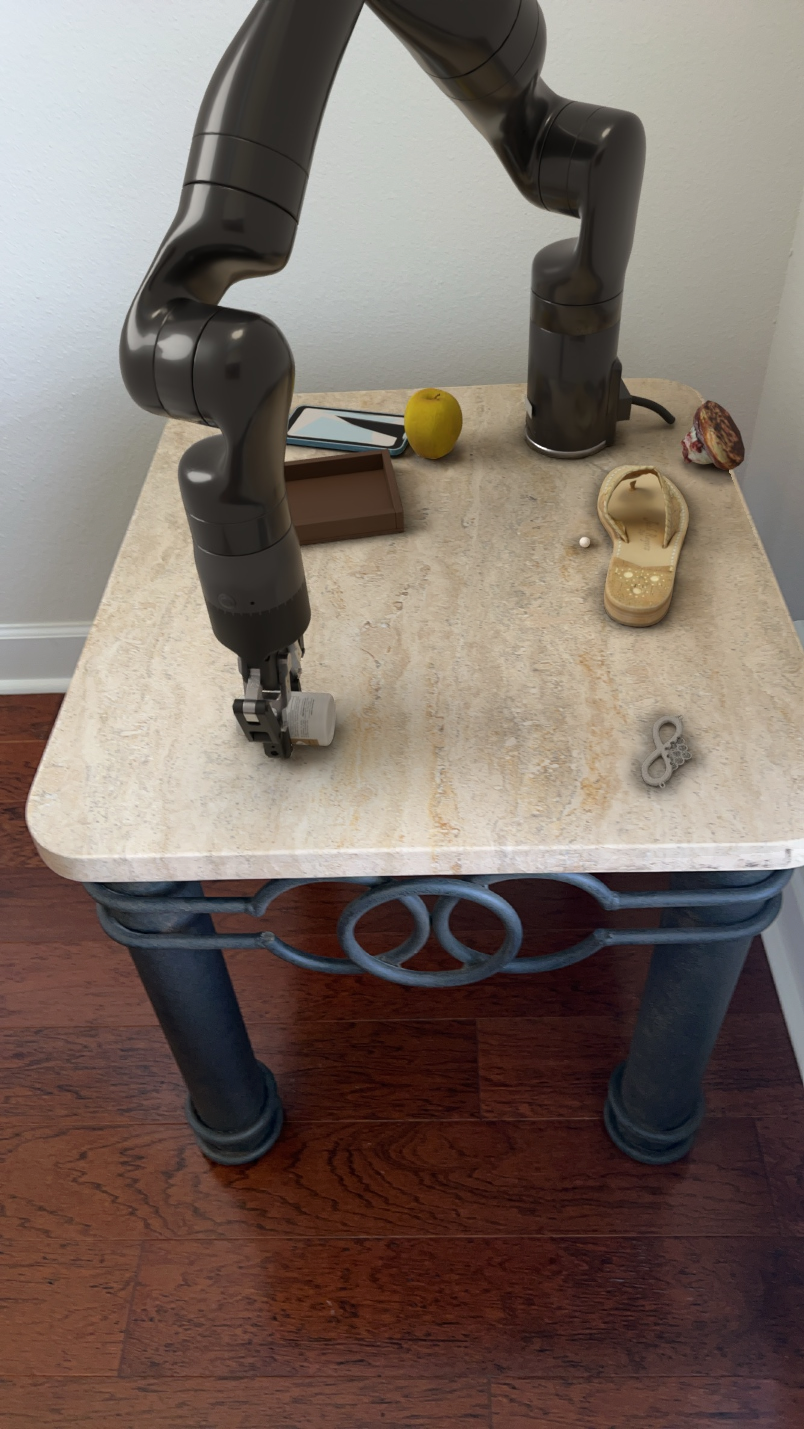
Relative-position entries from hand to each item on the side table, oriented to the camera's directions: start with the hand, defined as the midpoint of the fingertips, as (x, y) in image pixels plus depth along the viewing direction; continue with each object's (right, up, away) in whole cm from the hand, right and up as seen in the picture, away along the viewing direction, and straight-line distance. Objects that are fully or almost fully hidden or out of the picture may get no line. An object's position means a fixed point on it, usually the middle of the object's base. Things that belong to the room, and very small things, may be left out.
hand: (285, 731), depth 88 cm
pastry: (+44, +31, +20) cm, 57 cm away
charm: (+30, -1, -3) cm, 30 cm away
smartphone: (+4, +33, +31) cm, 46 cm away
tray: (+1, +23, +22) cm, 32 cm away
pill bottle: (+4, +1, -2) cm, 5 cm away
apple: (+13, +30, +28) cm, 43 cm away
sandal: (+33, +18, +15) cm, 41 cm away
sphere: (+28, +16, +12) cm, 35 cm away
